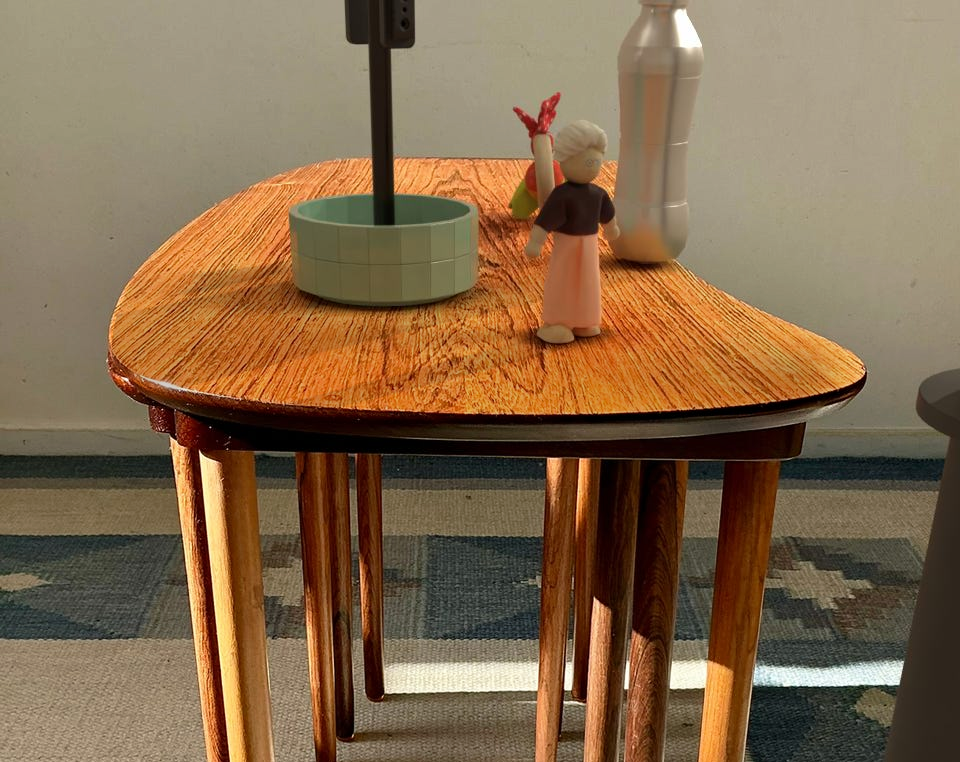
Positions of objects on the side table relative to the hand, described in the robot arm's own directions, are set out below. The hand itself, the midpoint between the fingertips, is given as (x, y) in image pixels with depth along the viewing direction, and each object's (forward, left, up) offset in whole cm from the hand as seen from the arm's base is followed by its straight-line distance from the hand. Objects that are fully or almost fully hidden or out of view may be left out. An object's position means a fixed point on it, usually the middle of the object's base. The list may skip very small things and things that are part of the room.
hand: (379, 44), depth 81 cm
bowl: (0, 0, -16) cm, 16 cm away
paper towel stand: (0, 0, -15) cm, 15 cm away
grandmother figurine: (-15, +8, -16) cm, 24 cm away
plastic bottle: (-17, -14, -16) cm, 27 cm away
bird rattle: (-6, -28, -16) cm, 33 cm away
